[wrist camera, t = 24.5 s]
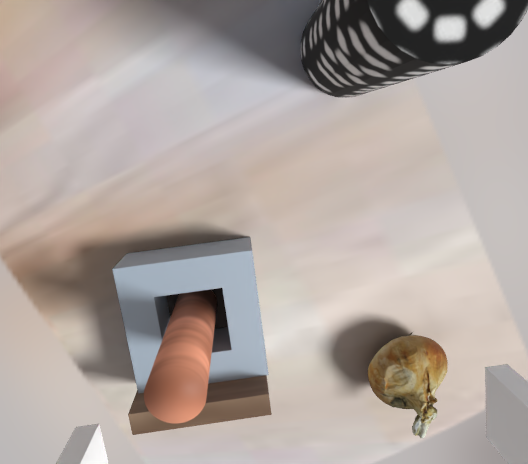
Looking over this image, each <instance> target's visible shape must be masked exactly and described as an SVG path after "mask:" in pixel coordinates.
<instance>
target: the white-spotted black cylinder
mask: <svg viewBox="0 0 528 464" xmlns="http://www.w3.org/2000/svg"><path fill="white" fill-rule="evenodd" d="M527 10H528V0H322V1H321V3H320V4H319V6H318V7H317V9H316V11H315V12H314V14H313V15H312V17H311V18H310V20H309V21H308V23H307V25H306V27H305V30H304V32H303V36H302V40H301V49H300V52H301V61H302V64H303V67H304V70H305V72H306V74H307V76H308V78H309V79H310V80H311V81H312V83H313V84H314V85H315V86H316V87H318V88H319V89H320V90H321V91H323V92H325V93H327V94H329V95H332V96H336V97H344V98H348V97H354V96H358V95H361V94H365V93H368V92H371V91H374V90H377V89H381V88H384V87H387V86H390V85H393V84H397V83H400V82H403V81H406V80H409V79H413V78H416V77H419V76H422V75H425V74H429V73H432V72H435V71H438V70H441V69H445V68H448V67H451V66H454V65H457V64H461V63H464V62H467V61H470V60H472V59H475V58H478V57H480V56H483V55H484V54H486V53H488V52H489V51H491V50H493V49H494V48H496V47H497V46H498V45H500V44H501V43H502V42H503V41H504V40H505V39H506V38H507V37H509V36H510V35H511V33H512V32H513V31H514V30H515V28H516V27H517V26H518V25H519V23H520V22H521V21H522V19H523V17H524V16H525V14H526V12H527Z"/></svg>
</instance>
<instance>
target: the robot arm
mask: <svg viewBox="0 0 528 464" xmlns="http://www.w3.org/2000/svg"><path fill="white" fill-rule="evenodd" d="M485 385H486V438H487V439H488V440H489V441H490V443H491V444H492V445H493V446H494V447H495V449H496V450H497V451H498V452H499V454H500V455H501V456H502V457H503V458H504V460H505V461H506V462H507V463H508V464H528V381H526V380H525V379H524V378H523V377H522V376H520V375H519V374H518V373H517V372H516V371H515V370H513V369H512V368H511V367H510V366H509V365H508V364H505V365H498V366H491V367H485ZM56 464H109V463H108V459H107V455H106V451H105V446H104V442H103V438H102V434H101V430H100V425H99V424H94V425H87V426H80V427H76V428H75V430H74V431H73V433H72V435H71V437H70V439H69V441H68V442H67V444H66V446H65V448H64V450H63V452H62V453H61V455H60V457H59V459H58V461H57V463H56Z"/></svg>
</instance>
